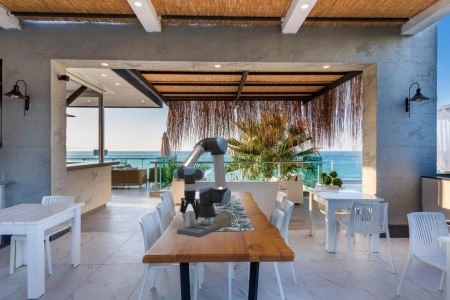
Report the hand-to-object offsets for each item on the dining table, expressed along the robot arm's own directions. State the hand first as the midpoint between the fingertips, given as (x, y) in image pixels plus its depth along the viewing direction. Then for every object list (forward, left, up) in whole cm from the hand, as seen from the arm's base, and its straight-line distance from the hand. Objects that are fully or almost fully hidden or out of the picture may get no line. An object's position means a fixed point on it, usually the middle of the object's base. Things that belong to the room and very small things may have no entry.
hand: (190, 223), depth 223 cm
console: (+6, +2, -5) cm, 8 cm away
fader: (0, 0, -2) cm, 2 cm away
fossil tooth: (+11, +22, -5) cm, 25 cm away
